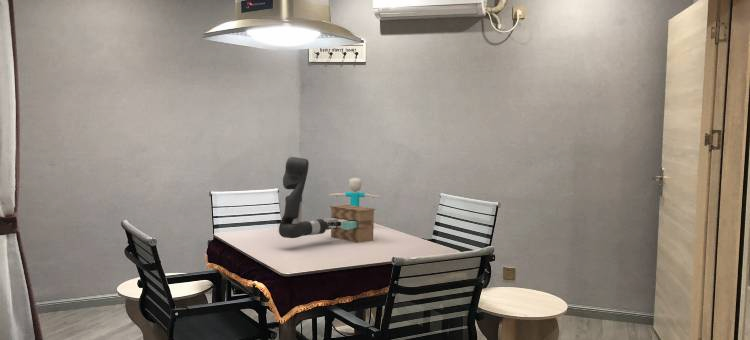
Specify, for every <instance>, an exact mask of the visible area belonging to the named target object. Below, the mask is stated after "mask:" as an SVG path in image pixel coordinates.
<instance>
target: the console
mask: <svg viewBox="0 0 750 340" xmlns="http://www.w3.org/2000/svg"><path fill="white" fill-rule="evenodd" d="M329 207H330V219H331V218H339V220H344V219H348V222H350V221H358V228H353V229H349V230H344V229H343V228H341V227H338V226H337V229H330V238H334V239H338V240H343V239H344V241H348V240H349V242H353V241H354V242H353V243H358V242H359V244H360V243H361V242H362V243H366V242H367V241H368V242H373V241H374V228H375V226H374V222H375V221H374V219H375V217H374V216H375V215H374V214H375V211H376V208H372V207H371V208H370V207H365V206H360V205H359V206H352V205H350V204H337V205H329ZM368 242H367V243H368Z"/></svg>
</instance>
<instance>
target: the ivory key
mask: <svg viewBox="0 0 750 340" xmlns="http://www.w3.org/2000/svg"><path fill="white" fill-rule="evenodd" d="M338 222H341V226H338V227H341V228H343V222H348V219H344V220H338Z"/></svg>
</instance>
